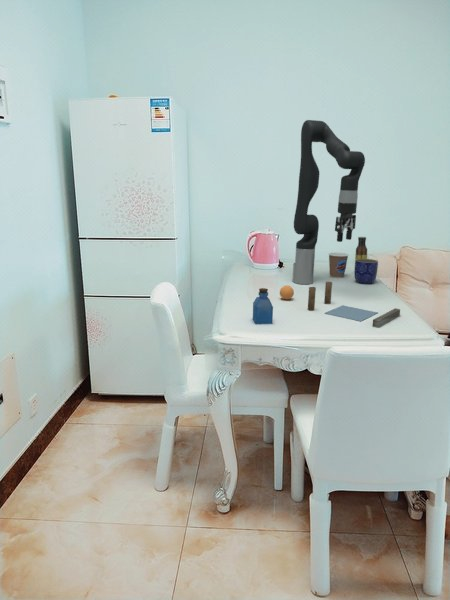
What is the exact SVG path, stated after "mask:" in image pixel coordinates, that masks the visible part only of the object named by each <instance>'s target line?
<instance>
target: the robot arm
mask: <svg viewBox="0 0 450 600" xmlns="http://www.w3.org/2000/svg"><path fill="white" fill-rule="evenodd" d="M313 143H323V144H324V145H325V149H326V151H327V153H328V154H329V155H330V156H331V157H332V158H334V159H335V162H336V163H337V165H338V166H339V168H340V169H343V170H350V172H349V173H348V174H346V175H343V176H342V177H341V179H340V190H339V194H338V203H337V213H338V214H340V215H339V216H336V218H335V225H334V227H335V228H334V231H335V232H337V235H336V242H339V243H341V242H343V240H344V237H343V236H344V231H345V230H346V234H345V240H349V241H350V240H352V237H353V236H352V235H353V232H354V230H355V229H356V221H357V215H356V214H357V207H358V206H357V205H358V194H359V193H358V191H359V190H358V189H359V180H360V178H361V175H362V172H363V170H364V167H365V164H366V158H365V155H364V153H363V152H362V151H355V150H353V151H352V150H351V149H350V147H349V146H348V144H346V143H345V142H343V140H341V139H340V138H338V136H337V135H336V134H335V133H334V131H333V130H332V128H330V126H329V124H327V123H326V122H325V121H323V120H314V119H311V120H310V119H306V120H305V121H304V122H303V123H302V127H301V131H300V166H299V172H298V173H299V176H298V189H297V200H296V206H295V212H294V218H293V230H294V232H295V233H296V234H297V235H303V236H302V238H301V239H300V240H298V241H296V243H295V244H296V245H295V258H294V259H295V261H294V262H293V265H292V266H293V267H292V283H294V284H297V285H298V284H299V285H312V284H313V283H314V272H315V271H314V270H315V258H316V256H315V255H316V245H317V243H318V237H319V230H320V229H319V228H320V221H319V219H318V217H317V216H316V215H315V214H308V212H309V211H308V210H309V206H310V203H311V201H312V199H313V197H314V196H315V194H316V192H317V190H318V189H319V181H320V169H319V167H318V166H319V165H318V164H317V161H316V159H315V158H314V154H313Z"/></svg>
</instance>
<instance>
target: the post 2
mask: <svg viewBox="0 0 450 600" xmlns="http://www.w3.org/2000/svg"><path fill="white" fill-rule="evenodd" d="M324 288H325V289H324V301H323V303H324V304H326V305H331V303H332V302H331V301H332V290H333V281H325V287H324Z"/></svg>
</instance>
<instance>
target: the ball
mask: <svg viewBox="0 0 450 600" xmlns="http://www.w3.org/2000/svg"><path fill="white" fill-rule="evenodd" d="M294 294H295V291H294V289H293V287H292V286H290V285H283V286H282V287H281V288H280V289H279V295H280V297H281V298H282V299H283V300H285V301H287V300H291V298H293V297H294Z"/></svg>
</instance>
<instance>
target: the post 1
mask: <svg viewBox="0 0 450 600" xmlns="http://www.w3.org/2000/svg"><path fill="white" fill-rule="evenodd" d="M316 290H317V288H316V287H315V286H309V287H308V299H307V311H315V306H316V305H315V304H316Z"/></svg>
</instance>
